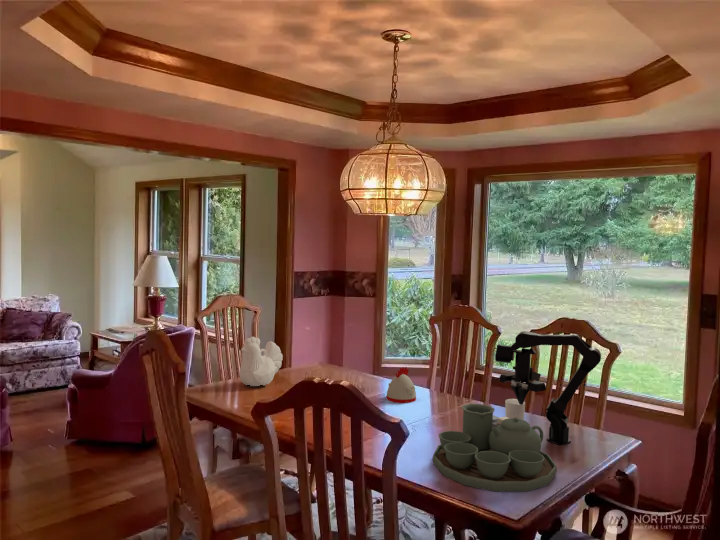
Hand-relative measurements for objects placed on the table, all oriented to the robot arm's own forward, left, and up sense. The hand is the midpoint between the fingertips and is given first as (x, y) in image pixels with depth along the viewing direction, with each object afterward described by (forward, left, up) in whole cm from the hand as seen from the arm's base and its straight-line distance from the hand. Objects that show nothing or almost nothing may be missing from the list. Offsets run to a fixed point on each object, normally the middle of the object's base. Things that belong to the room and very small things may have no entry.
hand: (521, 404), depth 231 cm
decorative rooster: (+118, +55, -13) cm, 131 cm away
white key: (+2, +6, -8) cm, 11 cm away
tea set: (-18, +32, -13) cm, 39 cm away
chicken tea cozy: (+64, +9, -13) cm, 66 cm away
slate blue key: (+8, +6, -10) cm, 14 cm away
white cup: (+10, -8, -13) cm, 18 cm away
